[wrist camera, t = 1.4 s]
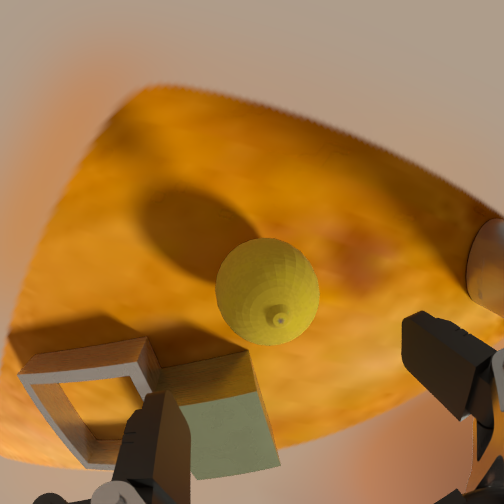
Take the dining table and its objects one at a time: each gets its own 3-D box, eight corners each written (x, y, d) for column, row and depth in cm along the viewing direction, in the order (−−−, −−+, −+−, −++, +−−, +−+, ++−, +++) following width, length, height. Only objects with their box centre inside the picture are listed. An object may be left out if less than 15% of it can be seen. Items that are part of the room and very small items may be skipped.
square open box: (238, 315, 21) (245, 352, 16) (270, 425, 23) (281, 465, 19) (34, 354, 19) (8, 384, 15) (94, 445, 22) (82, 479, 17)
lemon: (198, 264, 19) (187, 314, 12) (263, 211, 19) (295, 229, 11) (250, 321, 21) (268, 391, 13) (311, 273, 21) (361, 322, 13)
